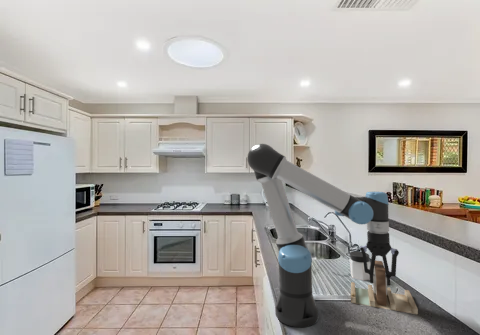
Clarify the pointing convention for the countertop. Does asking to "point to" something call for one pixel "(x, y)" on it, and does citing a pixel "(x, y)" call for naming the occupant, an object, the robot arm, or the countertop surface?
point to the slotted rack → (392, 299)
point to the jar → (359, 266)
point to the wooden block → (380, 283)
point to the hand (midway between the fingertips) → (380, 292)
